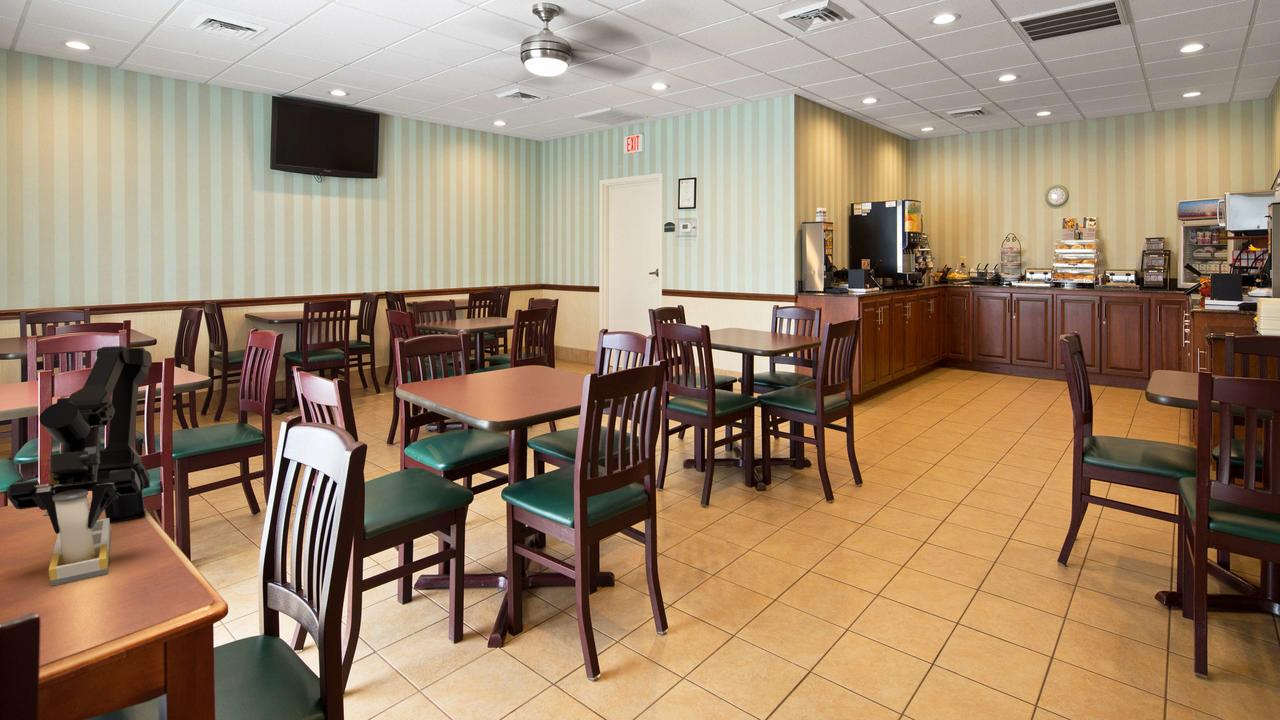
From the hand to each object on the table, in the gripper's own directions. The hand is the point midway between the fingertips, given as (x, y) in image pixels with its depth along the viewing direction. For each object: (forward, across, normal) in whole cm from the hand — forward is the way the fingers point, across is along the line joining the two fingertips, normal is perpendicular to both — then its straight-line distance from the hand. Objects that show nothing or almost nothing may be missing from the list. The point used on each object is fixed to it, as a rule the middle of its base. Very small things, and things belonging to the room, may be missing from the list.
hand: (73, 530), depth 126 cm
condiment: (-25, -10, +37) cm, 46 cm away
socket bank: (0, -1, +12) cm, 13 cm away
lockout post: (+4, 0, +6) cm, 7 cm away
